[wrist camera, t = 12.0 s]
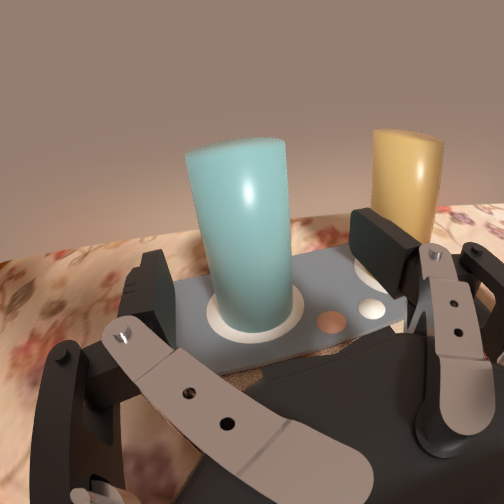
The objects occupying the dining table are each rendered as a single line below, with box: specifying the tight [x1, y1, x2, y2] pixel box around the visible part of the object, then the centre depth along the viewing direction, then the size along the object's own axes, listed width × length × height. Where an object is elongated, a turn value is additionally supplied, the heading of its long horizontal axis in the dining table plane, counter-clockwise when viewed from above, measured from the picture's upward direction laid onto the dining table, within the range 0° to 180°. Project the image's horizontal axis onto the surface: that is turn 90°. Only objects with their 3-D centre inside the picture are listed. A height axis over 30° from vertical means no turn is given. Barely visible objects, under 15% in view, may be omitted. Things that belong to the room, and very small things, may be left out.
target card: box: [174, 243, 406, 376], centre depth 20 cm, size 24×10×1 cm, turn 102°
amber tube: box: [365, 129, 444, 281], centre depth 18 cm, size 5×5×11 cm
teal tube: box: [185, 137, 293, 333], centre depth 17 cm, size 5×5×11 cm
